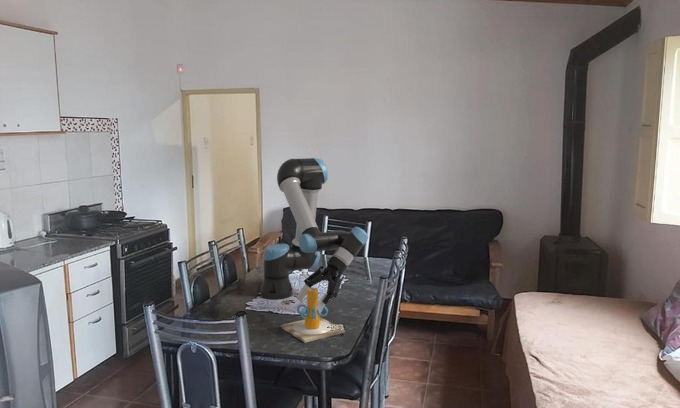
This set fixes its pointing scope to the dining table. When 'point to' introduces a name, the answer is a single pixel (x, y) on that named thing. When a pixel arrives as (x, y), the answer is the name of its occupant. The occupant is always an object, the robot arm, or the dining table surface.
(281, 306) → the dining table surface
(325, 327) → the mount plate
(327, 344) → the dining table surface
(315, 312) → the orange post with rings
